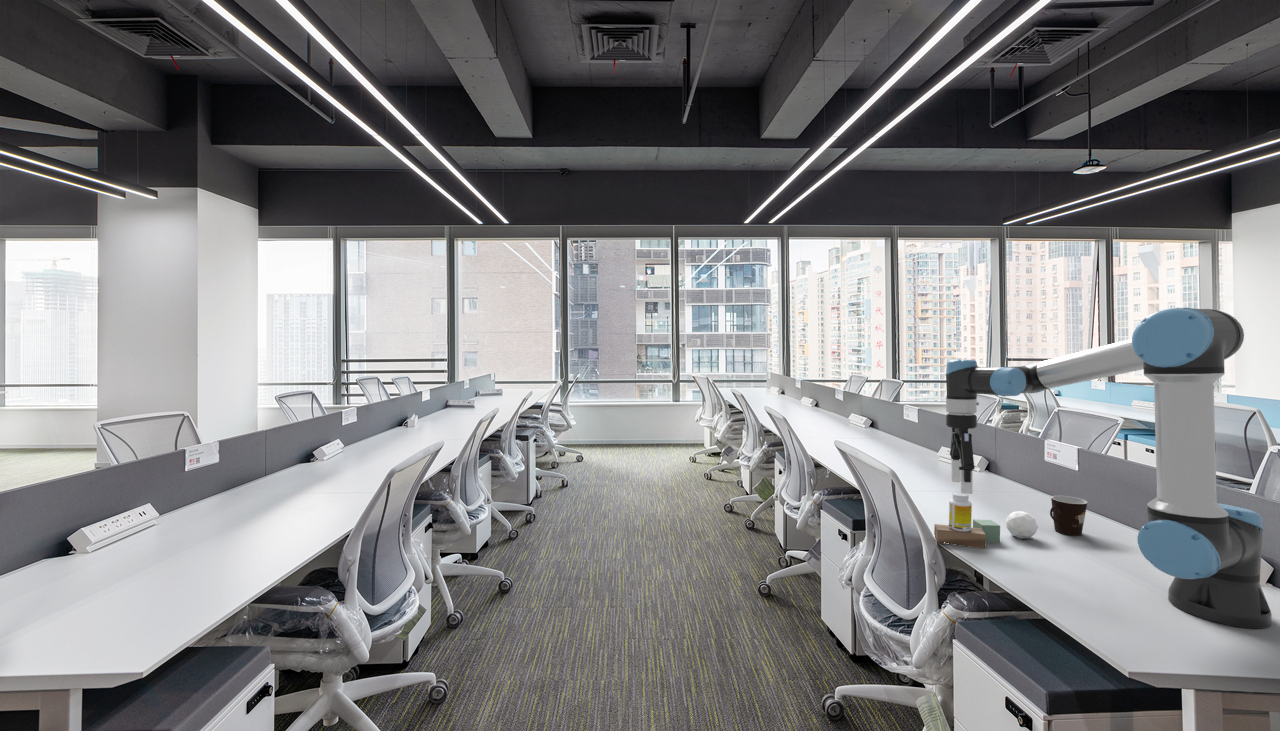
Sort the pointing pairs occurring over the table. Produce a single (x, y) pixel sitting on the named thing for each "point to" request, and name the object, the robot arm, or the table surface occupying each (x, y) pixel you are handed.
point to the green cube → (988, 529)
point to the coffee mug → (1068, 514)
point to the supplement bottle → (960, 512)
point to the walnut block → (960, 536)
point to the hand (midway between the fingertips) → (961, 487)
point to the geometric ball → (1021, 524)
